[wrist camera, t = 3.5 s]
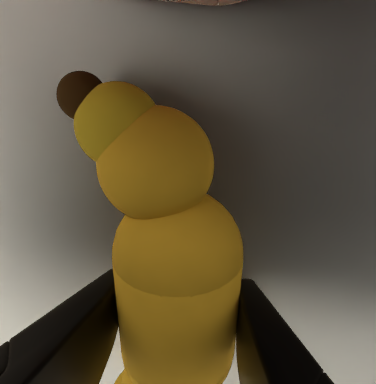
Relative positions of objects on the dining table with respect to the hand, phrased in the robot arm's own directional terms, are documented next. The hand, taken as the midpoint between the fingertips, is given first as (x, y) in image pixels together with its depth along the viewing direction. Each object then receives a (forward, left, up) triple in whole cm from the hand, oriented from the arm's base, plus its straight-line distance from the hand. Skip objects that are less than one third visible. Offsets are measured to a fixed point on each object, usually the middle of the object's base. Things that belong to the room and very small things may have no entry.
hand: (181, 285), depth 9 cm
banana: (0, 0, -1) cm, 1 cm away
